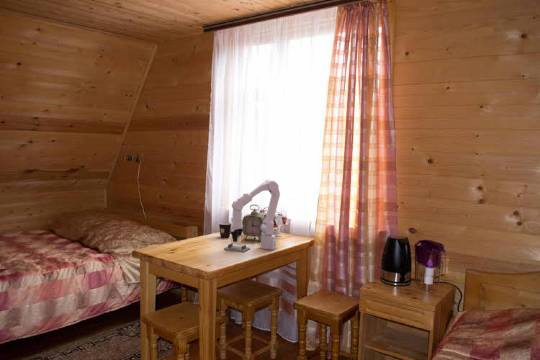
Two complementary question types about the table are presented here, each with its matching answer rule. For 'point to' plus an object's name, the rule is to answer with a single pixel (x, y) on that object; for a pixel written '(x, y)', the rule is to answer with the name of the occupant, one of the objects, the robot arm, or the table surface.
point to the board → (237, 248)
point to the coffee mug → (225, 229)
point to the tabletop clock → (253, 224)
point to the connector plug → (237, 240)
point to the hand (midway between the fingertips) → (236, 240)
